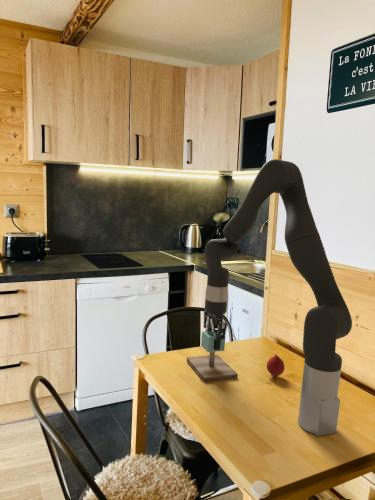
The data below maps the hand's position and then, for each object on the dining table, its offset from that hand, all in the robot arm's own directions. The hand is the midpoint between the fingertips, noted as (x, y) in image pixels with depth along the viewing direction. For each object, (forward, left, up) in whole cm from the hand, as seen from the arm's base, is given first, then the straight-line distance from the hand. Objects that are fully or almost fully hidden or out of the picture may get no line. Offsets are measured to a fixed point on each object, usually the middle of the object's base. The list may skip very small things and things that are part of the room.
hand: (212, 345), depth 138 cm
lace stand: (0, 0, -9) cm, 9 cm away
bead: (0, 0, -1) cm, 1 cm away
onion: (-10, -19, -9) cm, 23 cm away
